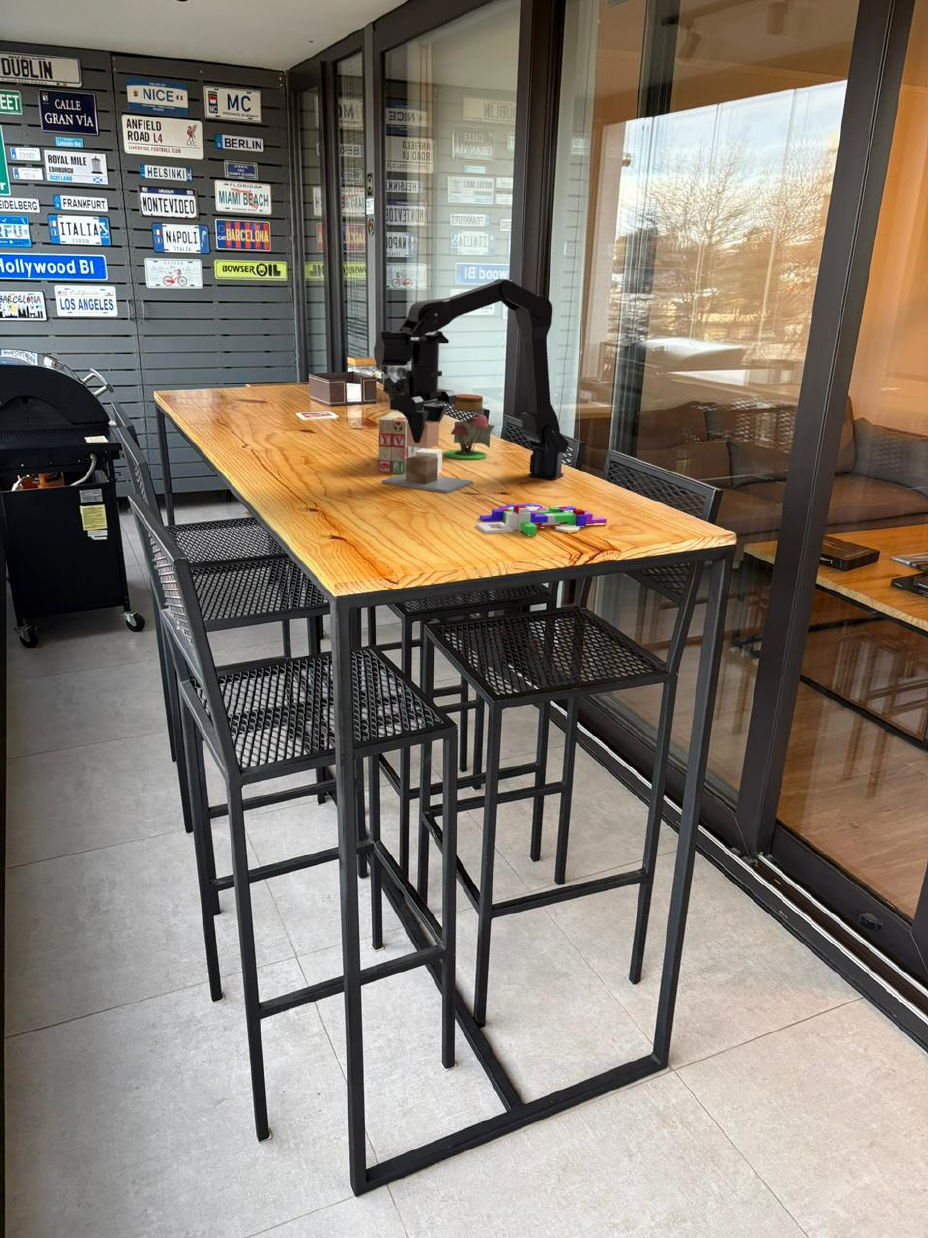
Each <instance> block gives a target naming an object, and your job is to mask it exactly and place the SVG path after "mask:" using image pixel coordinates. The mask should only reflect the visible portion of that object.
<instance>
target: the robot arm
mask: <svg viewBox="0 0 928 1238" xmlns="http://www.w3.org/2000/svg"><path fill="white" fill-rule="evenodd" d="M499 302H501V303H502V304H503V305H504V306H506V308H508V309H510V311H512V312H514V315H515V320H516V323H517V327H518V328H519V331H520V333H521V335H522V337H523V339H524V349H525V350H524V351H525V362H526V379H527V388H528V389H527V390H528V391H527V392H528V407H527V410H526V412H521V413H520V419H521V431H522V432H524V436H525V437H526V438H527V440H528V442H529V445H530V447H531V448H532V453H531V454H530V459H529V473H528V475H527V476H528V477H534V478H540V479H545V480H557V479H558V478H562V477H563V476H564V475H565V473H564V472H562V465H563V456H564V455H563V454H564V453H566V452H567V450H568V447H569V446H570V443H569V441H568V440H567V439H566V438H565V437H564V436H563V434H562V433H561V428H560V423H559V419H558V416H557V413H556V411H555V409H554V407H553V405H552V402H551V392H550V391H551V390H550V389H551V388H550V375H549V374H550V372H549V357H548V342H547V337H548V335H549V333H550V329H551V327H552V320H553V303H552V302H551V300H550V299H549V298H548V297H546V296H544V295H536V294H535V293H533V292H532V291H529V290H528V289H526V288H524V287H522V286H520V285H518V284H517V283H516V282H514V281H512V280H511V279H509V278H507V279H506V278H499V279H496V280H495V279H494V281H492V282H489V283H486V284H483V285H481V286H478V287H475V288H473V289H470V290H467V291H464V292H461V293H459V294H456V295H453V296H452V295H451V296H450V297H447V298H446V297H445V298H437V299H436V298H435V299H428V300H421V301H416V302H414V303H413V304H412V305H411V306H410V308H409V311H408V314H407V318H406V319H405V320H404V322H403V324H401V326H400V328H399V329H398V330H397V331H387V330H379V331H378V334H377V336H378V337H377V338H376V341H375V344H374V347H373V355H374V360H375V364H376V365H377V366H379V367H381V366H382V367H393V366H395V367H396V366H397V367H402V366H403V367H404V366H406V365H408V362H409V363H410V369H408V370H406V371H405V377H403V378H400V379H397V378H396V377H395V376H390V377H386V378H384V379H383V389H382V390H383V393H385V394H387V396H388V399H389V410H393V411H397V412H400V413H402V414H403V415H404V416H405V417H406V418H407V421H408V423H409V426H410V430H411V433H412V437H413V440H414V442H415V443H419V442H420V439H421V436H422V433H423V429H424V426H425V422H426V421H435V422H439V424H440V423H441V421H442V420H443V417H444V415H445V414H446V412H447V410H449V406H448V405H450V406H451V405H453V404H456V395H457V394H456V392H454V390H451V389H443V388H439V377H442V376H443V371H442V370H439V358H440V357H439V356H440V354H439V353H440V351H439V350H440V344H449V343H450V341H449V339H448V338H447V337H446V336H445V335H444V333H443V331H440V330H441V329H443V328H444V327H446V326H448V325H449V324H450V323H451V322H453V320H454V319H456V318H458V317H460V316H463V315H465V314H468V313H471V312H474V311H476V310H479V309H482V308H486V307H487V306H492V305H494V304H496V303H499ZM429 333H433V334H429ZM412 338H418V339H412ZM444 403H447V405H444Z"/></svg>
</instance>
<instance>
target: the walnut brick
mask: <svg viewBox="0 0 928 1238" xmlns="http://www.w3.org/2000/svg"><path fill="white" fill-rule="evenodd" d="M437 471H438V458H437V457H430V456H423V455H416V456H412V457H409V458H406V481H408V482H414V483H421V484H428V483H431V482H434V481H437V476H438V474H437Z"/></svg>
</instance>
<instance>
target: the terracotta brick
mask: <svg viewBox="0 0 928 1238" xmlns="http://www.w3.org/2000/svg"><path fill="white" fill-rule="evenodd" d="M439 434H440V423H439V422H435V421H426V422H425V426H424V429H423V433H422V436H421V439H420V442H419V443H415V442H414V440H413V437H412V433H411V430H410V426H409V423H408V422H407V446H411V447H418V448H425V449H432V448H435V447H438V446H439V439H440V438H439V437H440V435H439Z"/></svg>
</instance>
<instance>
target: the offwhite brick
mask: <svg viewBox="0 0 928 1238" xmlns="http://www.w3.org/2000/svg"><path fill="white" fill-rule="evenodd" d="M416 455H423V456H430V457H437V458H438V471H437V475H438V474H440V473H441V472H442V468H443V467H442V466H443V465H442V463H443V449H436V448H435V449H434V448H428V449H426V448H421V449H419V450H418V451H416Z"/></svg>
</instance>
